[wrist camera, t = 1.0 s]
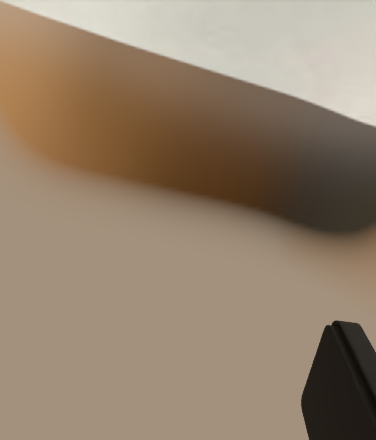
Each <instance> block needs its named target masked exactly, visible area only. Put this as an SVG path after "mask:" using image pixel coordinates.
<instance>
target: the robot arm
mask: <svg viewBox="0 0 376 440" xmlns="http://www.w3.org/2000/svg"><path fill="white" fill-rule="evenodd" d="M301 407H302V412H303V417H304V421H305V425H306V429H307V433H308V437H309V440H376V352H375V350H374V349H373V347H372V345H371V343H370V341H369V340H368V338H367V336H366V334H365V333H364V331H363V329H362V327H361V326H360V325H359V324H358V323H351V322H344V321H334V322H333V323H332V325H331V326H330V325H327V326H326V327H325V329H324V331H323V334H322V337H321V340H320V343H319V346H318V349H317V352H316V355H315V358H314V361H313V364H312V367H311V370H310V373H309V376H308V379H307V382H306V385H305V388H304V391H303V394H302V399H301Z"/></svg>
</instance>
